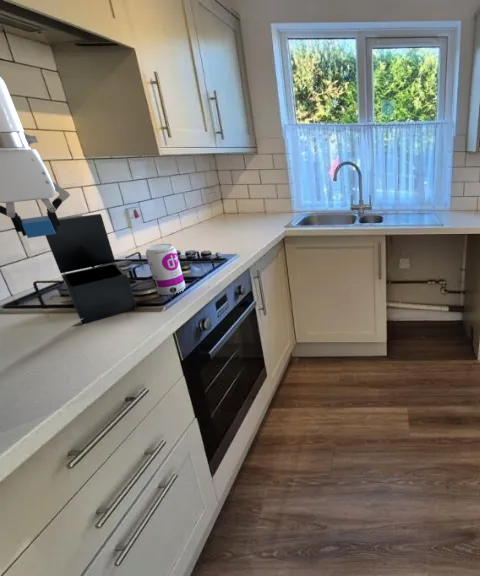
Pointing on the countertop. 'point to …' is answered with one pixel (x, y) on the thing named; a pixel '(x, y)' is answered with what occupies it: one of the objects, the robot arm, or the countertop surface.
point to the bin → (99, 292)
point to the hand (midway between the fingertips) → (40, 231)
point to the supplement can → (165, 269)
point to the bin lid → (80, 243)
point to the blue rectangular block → (37, 226)
